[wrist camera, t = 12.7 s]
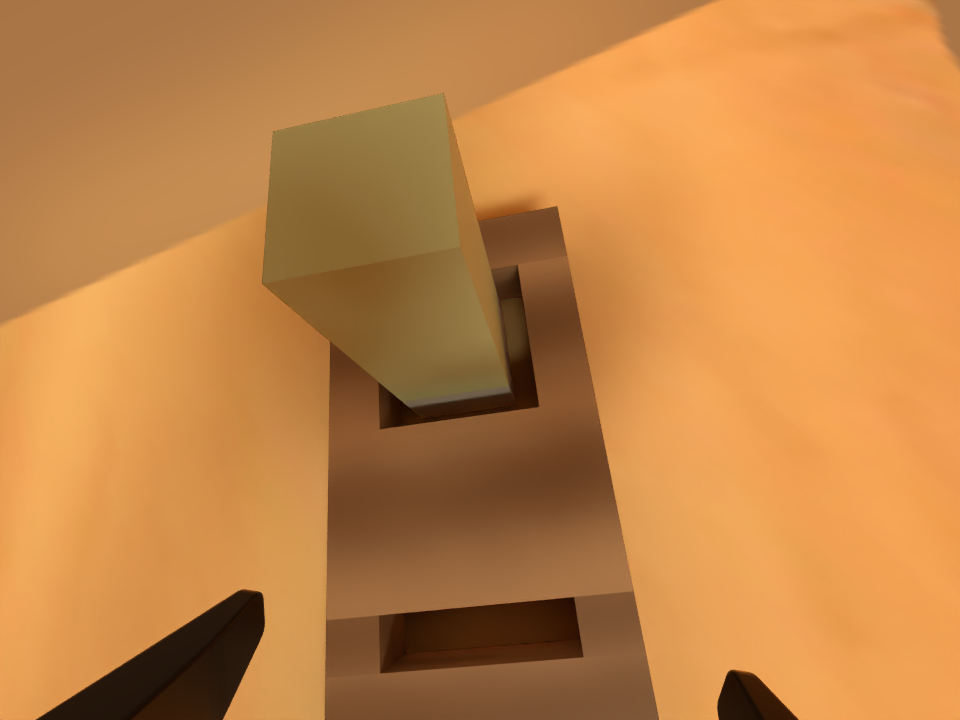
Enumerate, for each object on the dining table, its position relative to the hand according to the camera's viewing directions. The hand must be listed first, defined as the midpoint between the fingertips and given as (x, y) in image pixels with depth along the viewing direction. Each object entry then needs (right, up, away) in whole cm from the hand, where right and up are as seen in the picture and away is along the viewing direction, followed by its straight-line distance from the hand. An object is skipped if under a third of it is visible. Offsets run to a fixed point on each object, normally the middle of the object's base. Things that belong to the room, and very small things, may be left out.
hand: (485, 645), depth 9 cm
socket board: (0, +1, +12) cm, 12 cm away
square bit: (-1, +5, +14) cm, 15 cm away
